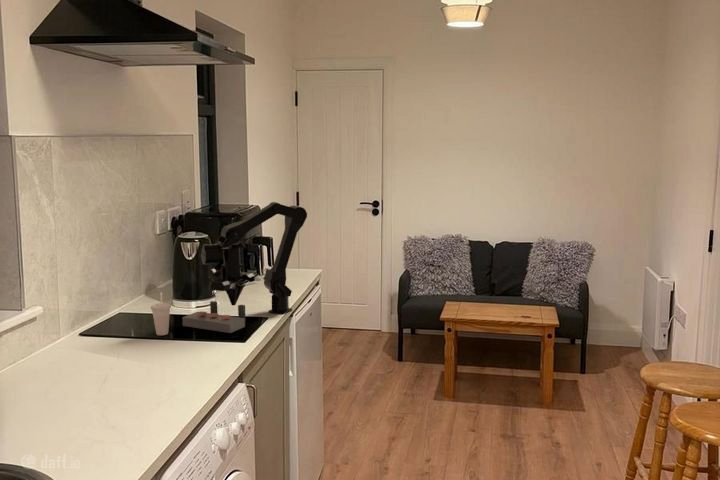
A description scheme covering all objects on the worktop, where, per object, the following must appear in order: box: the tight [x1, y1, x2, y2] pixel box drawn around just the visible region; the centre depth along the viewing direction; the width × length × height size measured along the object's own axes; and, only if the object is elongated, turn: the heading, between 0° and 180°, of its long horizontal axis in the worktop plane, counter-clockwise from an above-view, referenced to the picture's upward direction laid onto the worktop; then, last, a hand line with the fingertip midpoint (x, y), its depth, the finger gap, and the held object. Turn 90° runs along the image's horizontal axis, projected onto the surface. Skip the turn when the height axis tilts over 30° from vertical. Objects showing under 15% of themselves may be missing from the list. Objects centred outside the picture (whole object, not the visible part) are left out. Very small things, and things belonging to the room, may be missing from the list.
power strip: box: [182, 311, 246, 334], centre depth 241 cm, size 8×20×3 cm, turn 63°
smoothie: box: [150, 291, 172, 336], centre depth 233 cm, size 6×6×14 cm
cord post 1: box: [209, 300, 219, 315], centre depth 251 cm, size 2×2×6 cm
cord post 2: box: [237, 304, 247, 324], centre depth 246 cm, size 2×2×6 cm
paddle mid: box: [208, 312, 219, 317], centre depth 241 cm, size 3×2×1 cm
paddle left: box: [196, 310, 208, 316], centre depth 243 cm, size 3×2×1 cm
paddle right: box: [220, 314, 231, 319], centre depth 239 cm, size 3×2×1 cm
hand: (233, 305), depth 251 cm, fingers closed
